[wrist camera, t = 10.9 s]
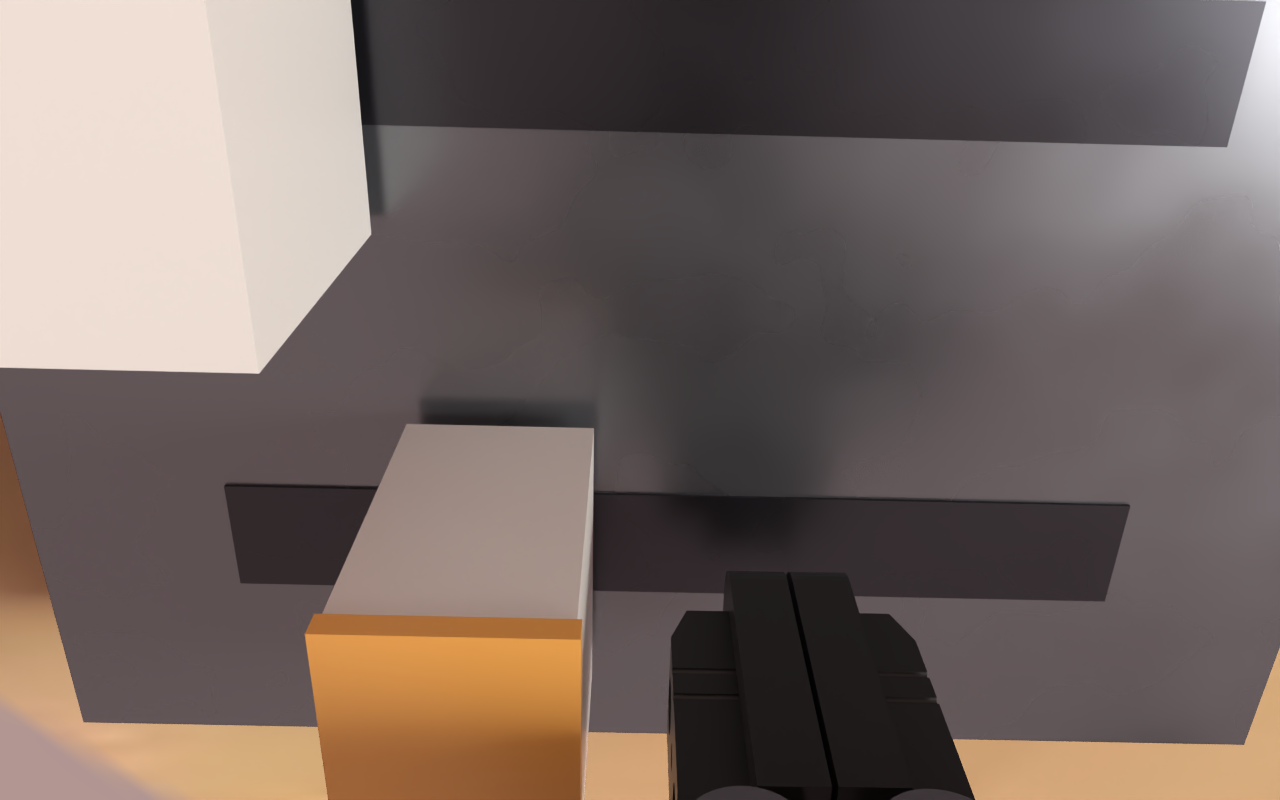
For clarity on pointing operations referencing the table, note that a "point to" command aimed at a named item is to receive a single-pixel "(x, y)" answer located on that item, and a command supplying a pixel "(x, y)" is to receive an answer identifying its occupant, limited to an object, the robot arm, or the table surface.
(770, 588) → the robot arm
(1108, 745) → the table surface
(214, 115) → the handle
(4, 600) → the table surface
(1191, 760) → the table surface
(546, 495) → the block
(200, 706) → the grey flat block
